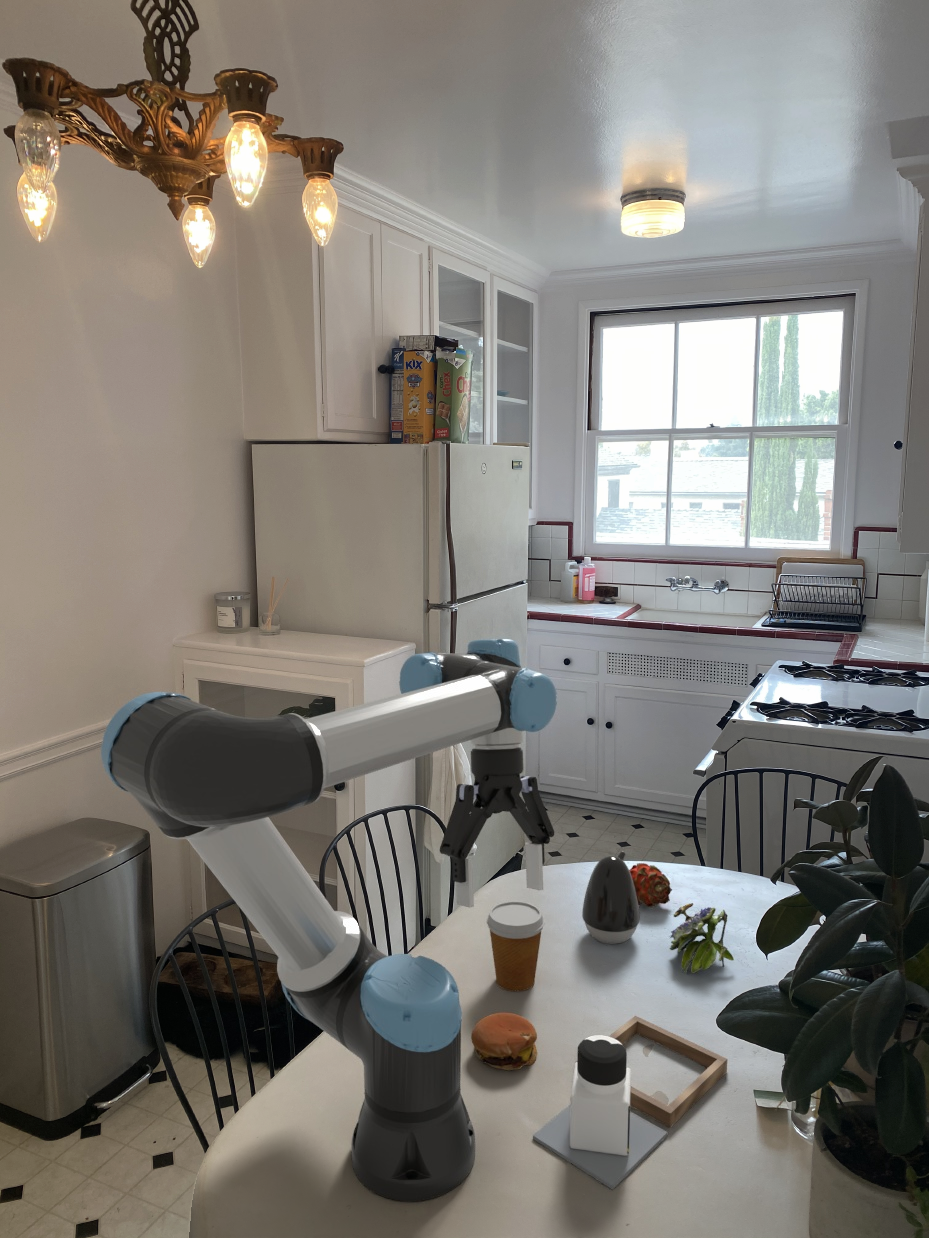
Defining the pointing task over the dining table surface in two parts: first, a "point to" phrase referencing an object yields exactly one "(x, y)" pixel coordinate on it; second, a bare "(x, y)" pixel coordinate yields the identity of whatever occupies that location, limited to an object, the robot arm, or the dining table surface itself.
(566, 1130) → the slate mat
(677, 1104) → the walnut caddy
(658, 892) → the dragon fruit
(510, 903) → the disposable coffee cup
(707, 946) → the passion flower
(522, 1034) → the burger
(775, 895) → the dining table surface
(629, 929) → the grey egg-shaped container
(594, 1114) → the medicine bottle
